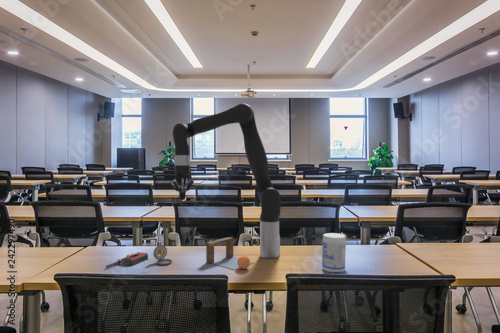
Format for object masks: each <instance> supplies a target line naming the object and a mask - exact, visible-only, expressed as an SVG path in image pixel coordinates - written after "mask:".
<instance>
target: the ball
mask: <svg viewBox="0 0 500 333" xmlns="http://www.w3.org/2000/svg"><path fill="white" fill-rule="evenodd" d="M237 258H238V257H237ZM250 262H251V260H250V258H249V256H247V255H241V256H240V257H239V258H238V261H237V264H238V266H239V268H238V269H241V270H246V269H248V268H249V267H250V266H251V264H250Z"/></svg>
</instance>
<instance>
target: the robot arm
mask: <svg viewBox="0 0 500 333" xmlns="http://www.w3.org/2000/svg"><path fill="white" fill-rule="evenodd" d="M232 124H239V127H240V128H241V129H240V130H241V131H242V135H243V136H242V137H243V144H244V151H245V154H246V159H247V161H248V164H249V168H250V171H251V173H252V175H253V178H254V180H255V185H256V189H257V196H258V199H259V202H260V203H261V208H260V209H261V211H260V212H261V213H260V215H259V257H260V258H262V259H276V258H277V259H278V258H279V256H281V236H280V216H281V207H282V206H281V202H282V201H281V194H280V192H279V191H278V189H275V188H274V186H273V183H272V180H271V178H270V173H269V163H268V162H269V160H268V157H267V153H266V151H265V146H264V144H263V140H262V139H261V136H260V133H259V131H258V127H257V123H256V118H255V112H254V109H253V108H252V106H250V105H249V104H247V103H243V102H242V103H237V105H235V106H233V107H231V108H229V109H226V110H224V111H222V112H219V113H214V114H212V115H207V116H203V117H199V118H196V119H194V120H192V122H188V123H185V124H184V123H181V122H180V123H176V124H175V125H174V126H173V129H172V136H173V142H174V147H175V148H174V179H173V180H171V181H170V182H169V183H170V184H171V186H172V187H173V189H174V190H175V191H176V192H178V198H179V200H180V201H185V200H186V199H187V198H186V194H187V192H188V191H190V189H191V187H192V185H193V184H194V182H195V181H194V180H192V179H191V176H190V175H191V157H190V149H191V148H190V144H189V143H188V139H189V138H191V137H195V136H196V135H200V134H203V133H206V132H207V133H208V132H210V131H213V130H215V129H218V128H220V127H223V126H227V125H232Z"/></svg>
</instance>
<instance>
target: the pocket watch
mask: <svg viewBox="0 0 500 333" xmlns="http://www.w3.org/2000/svg"><path fill="white" fill-rule="evenodd" d="M163 242H164V241H163V240H161V241H160V242H158V244H159V245H157V246H156V247H155V248H154V249H153V257H154V258H155V259H156V260H157V261H156V264H157V265H161V266H162V265H163V266H167V265H170V264H172V262H173V260H172V259H170V258H166V256H167V254H168V248H167V247H166V245H163Z"/></svg>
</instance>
